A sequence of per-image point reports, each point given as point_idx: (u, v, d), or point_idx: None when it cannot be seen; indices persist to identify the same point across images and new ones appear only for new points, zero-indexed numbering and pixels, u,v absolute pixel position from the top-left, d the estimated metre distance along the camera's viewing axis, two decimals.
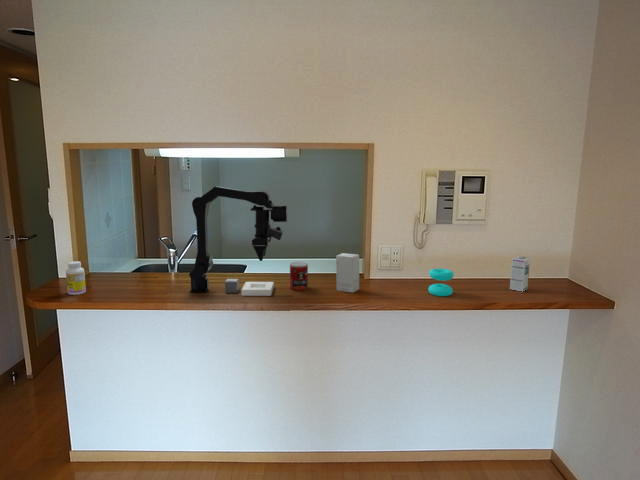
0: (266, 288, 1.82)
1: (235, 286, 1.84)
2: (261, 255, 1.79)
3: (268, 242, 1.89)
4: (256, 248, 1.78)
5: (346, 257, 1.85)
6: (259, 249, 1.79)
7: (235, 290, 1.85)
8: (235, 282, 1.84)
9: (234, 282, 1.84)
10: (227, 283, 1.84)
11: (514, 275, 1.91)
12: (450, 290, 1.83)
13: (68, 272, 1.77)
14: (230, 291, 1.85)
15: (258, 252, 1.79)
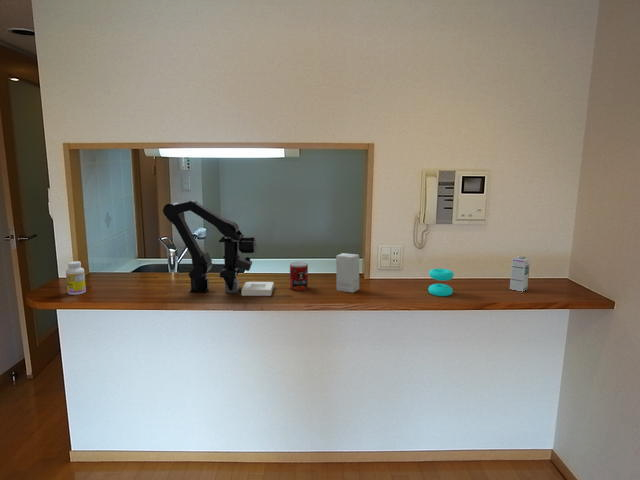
0: (266, 288, 1.82)
1: (235, 286, 1.84)
2: (231, 285, 1.83)
3: (237, 273, 1.88)
4: (226, 278, 1.82)
5: (346, 257, 1.85)
6: (228, 279, 1.82)
7: (235, 290, 1.85)
8: (235, 282, 1.84)
9: (234, 282, 1.84)
10: None
11: (514, 275, 1.91)
12: (450, 290, 1.83)
13: (68, 272, 1.77)
14: (230, 291, 1.85)
15: (228, 282, 1.82)
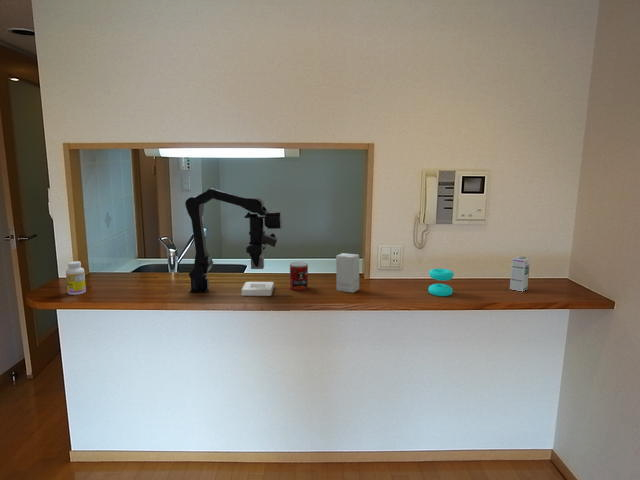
0: (266, 288, 1.82)
1: (261, 262, 1.83)
2: (257, 261, 1.81)
3: (262, 250, 1.86)
4: (251, 254, 1.80)
5: (346, 257, 1.85)
6: (254, 255, 1.81)
7: (261, 266, 1.83)
8: (261, 258, 1.82)
9: (260, 258, 1.82)
10: None
11: (514, 275, 1.91)
12: (450, 290, 1.83)
13: (68, 272, 1.77)
14: (256, 267, 1.83)
15: (254, 258, 1.81)
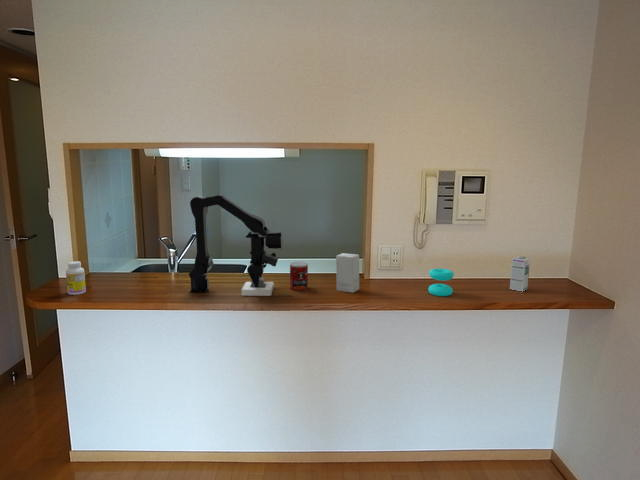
0: (266, 288, 1.82)
1: (261, 285, 1.84)
2: (257, 282, 1.81)
3: None
4: (251, 275, 1.79)
5: (346, 257, 1.85)
6: (254, 276, 1.80)
7: None
8: (261, 281, 1.84)
9: (260, 281, 1.84)
10: None
11: (514, 275, 1.91)
12: (450, 290, 1.83)
13: (68, 272, 1.77)
14: None
15: (254, 279, 1.80)
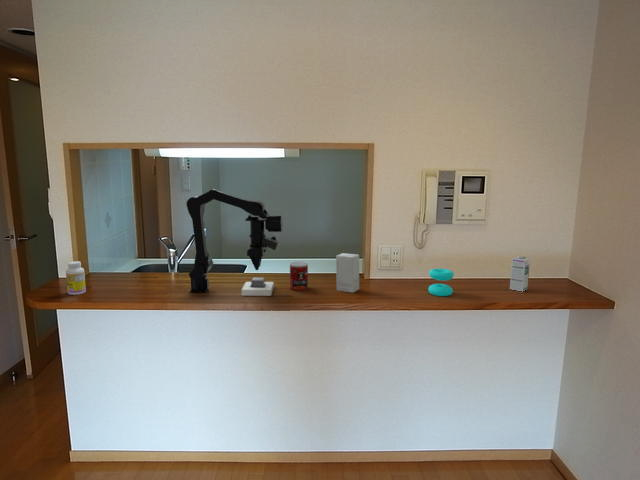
0: (266, 288, 1.82)
1: (261, 285, 1.84)
2: (257, 264, 1.81)
3: None
4: (252, 257, 1.80)
5: (346, 257, 1.85)
6: (254, 259, 1.80)
7: None
8: (261, 281, 1.84)
9: (260, 281, 1.84)
10: (253, 282, 1.84)
11: (514, 275, 1.91)
12: (450, 290, 1.83)
13: (68, 272, 1.77)
14: None
15: (254, 261, 1.80)
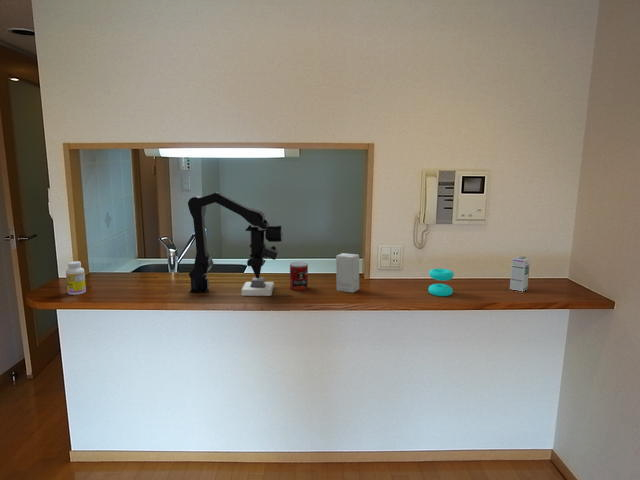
0: (266, 288, 1.82)
1: (261, 285, 1.84)
2: (258, 273, 1.84)
3: None
4: (253, 266, 1.83)
5: (346, 257, 1.85)
6: (255, 267, 1.84)
7: None
8: (261, 281, 1.84)
9: (260, 281, 1.84)
10: (253, 282, 1.84)
11: (514, 275, 1.91)
12: (450, 290, 1.83)
13: (68, 272, 1.77)
14: None
15: (255, 270, 1.84)
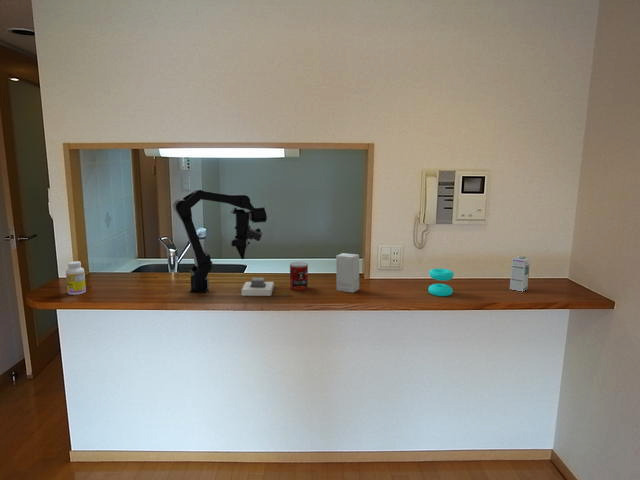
0: (266, 288, 1.82)
1: (261, 285, 1.84)
2: (243, 253, 1.93)
3: None
4: (238, 247, 1.91)
5: (346, 257, 1.85)
6: (240, 248, 1.92)
7: None
8: (261, 281, 1.84)
9: (260, 281, 1.84)
10: (253, 282, 1.84)
11: (514, 275, 1.91)
12: (450, 290, 1.83)
13: (68, 272, 1.77)
14: None
15: (240, 251, 1.92)
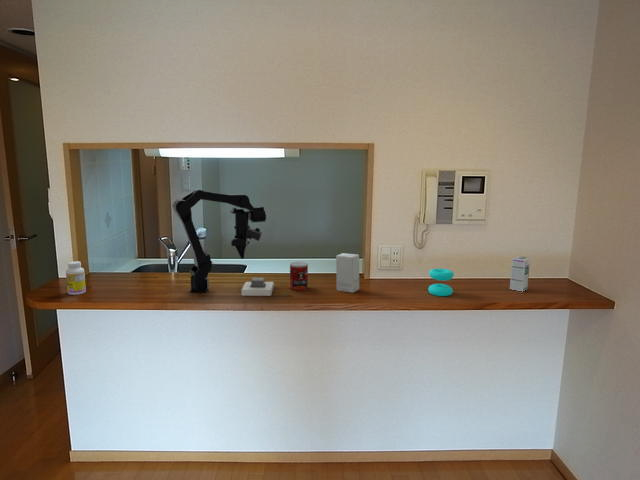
0: (266, 288, 1.82)
1: (261, 285, 1.84)
2: (242, 253, 1.93)
3: None
4: (237, 247, 1.92)
5: (346, 257, 1.85)
6: (240, 248, 1.92)
7: None
8: (261, 281, 1.84)
9: (260, 281, 1.84)
10: (253, 282, 1.84)
11: (514, 275, 1.91)
12: (450, 290, 1.83)
13: (68, 272, 1.77)
14: None
15: (239, 250, 1.92)
